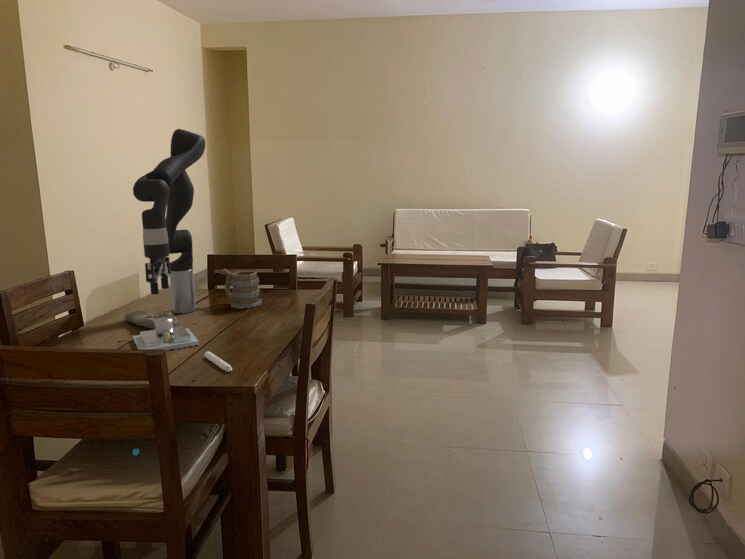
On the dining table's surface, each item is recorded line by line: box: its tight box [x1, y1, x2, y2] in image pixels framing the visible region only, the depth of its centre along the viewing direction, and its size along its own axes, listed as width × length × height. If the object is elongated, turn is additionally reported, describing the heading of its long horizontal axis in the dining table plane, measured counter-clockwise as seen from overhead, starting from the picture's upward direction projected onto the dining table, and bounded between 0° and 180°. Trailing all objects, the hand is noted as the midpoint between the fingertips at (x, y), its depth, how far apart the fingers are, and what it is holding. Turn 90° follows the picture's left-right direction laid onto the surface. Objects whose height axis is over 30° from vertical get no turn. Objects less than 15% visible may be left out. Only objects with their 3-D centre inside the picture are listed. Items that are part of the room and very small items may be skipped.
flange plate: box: [139, 317, 191, 347], centre depth 184 cm, size 14×14×7 cm
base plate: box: [132, 327, 200, 352], centre depth 184 cm, size 18×18×4 cm
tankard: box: [219, 268, 263, 310], centre depth 236 cm, size 20×13×15 cm, turn 58°
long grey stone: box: [124, 310, 179, 330], centre depth 204 cm, size 35×5×10 cm
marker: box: [204, 351, 233, 373], centre depth 162 cm, size 18×2×2 cm, turn 37°
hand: (160, 291), depth 181 cm, fingers open, 8 cm apart
